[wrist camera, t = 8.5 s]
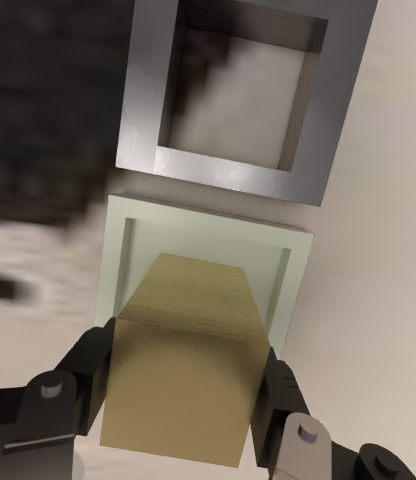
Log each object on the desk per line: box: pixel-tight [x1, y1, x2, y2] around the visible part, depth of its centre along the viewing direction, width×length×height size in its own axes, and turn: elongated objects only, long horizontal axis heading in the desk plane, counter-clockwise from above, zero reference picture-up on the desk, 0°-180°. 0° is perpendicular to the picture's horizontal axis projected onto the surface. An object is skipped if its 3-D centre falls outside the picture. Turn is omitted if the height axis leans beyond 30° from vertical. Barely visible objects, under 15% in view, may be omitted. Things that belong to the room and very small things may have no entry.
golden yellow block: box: [100, 253, 271, 468], centre depth 13 cm, size 5×5×8 cm
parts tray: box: [94, 193, 314, 360], centre depth 17 cm, size 11×11×2 cm
